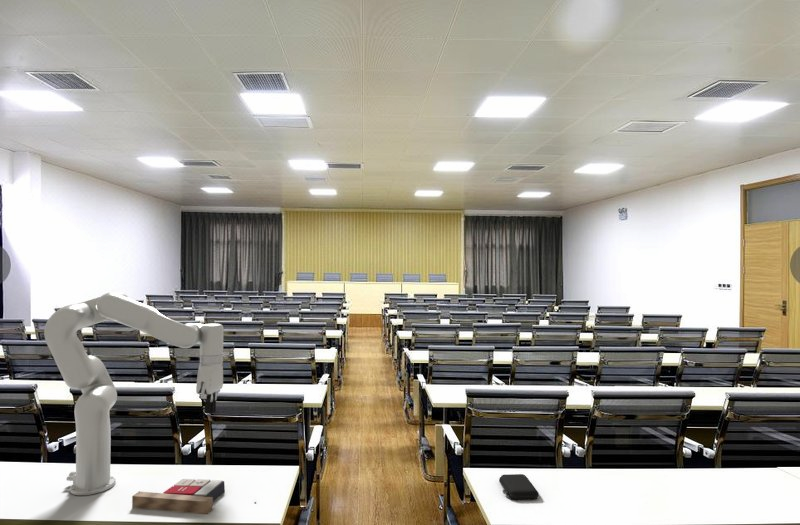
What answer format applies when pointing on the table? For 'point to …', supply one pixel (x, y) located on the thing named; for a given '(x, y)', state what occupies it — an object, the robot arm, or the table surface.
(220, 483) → the calculator
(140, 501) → the bar
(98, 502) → the table surface
